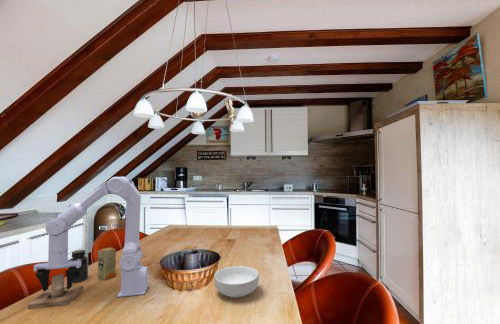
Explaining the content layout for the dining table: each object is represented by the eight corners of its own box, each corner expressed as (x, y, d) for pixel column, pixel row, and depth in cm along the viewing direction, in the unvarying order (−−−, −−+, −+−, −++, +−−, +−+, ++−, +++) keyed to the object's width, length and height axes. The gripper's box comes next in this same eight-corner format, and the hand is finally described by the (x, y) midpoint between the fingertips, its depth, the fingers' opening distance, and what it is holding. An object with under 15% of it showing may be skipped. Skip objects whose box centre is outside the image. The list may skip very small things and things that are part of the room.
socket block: (83, 289, 101) (83, 285, 101) (68, 304, 89) (68, 300, 89) (48, 292, 99) (48, 288, 99) (27, 309, 87) (27, 304, 87)
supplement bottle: (84, 275, 116) (85, 248, 116) (90, 279, 111) (90, 250, 112) (66, 280, 110) (66, 251, 111) (71, 284, 106) (72, 254, 106)
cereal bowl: (218, 283, 106) (217, 265, 106) (258, 283, 105) (258, 265, 106) (210, 304, 89) (210, 283, 89) (259, 304, 88) (258, 283, 89)
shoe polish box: (104, 280, 110) (104, 251, 110) (97, 278, 112) (98, 250, 113) (115, 276, 114) (115, 248, 114) (109, 274, 116) (109, 247, 117)
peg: (65, 295, 96) (65, 273, 96) (60, 300, 93) (61, 277, 93) (54, 297, 95) (54, 274, 96) (49, 301, 92) (49, 278, 92)
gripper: (85, 246, 100) (84, 282, 100) (42, 249, 97) (41, 286, 97) (76, 252, 93) (76, 290, 93) (30, 255, 90) (29, 294, 90)
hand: (57, 289), depth 94 cm, fingers open, 7 cm apart
